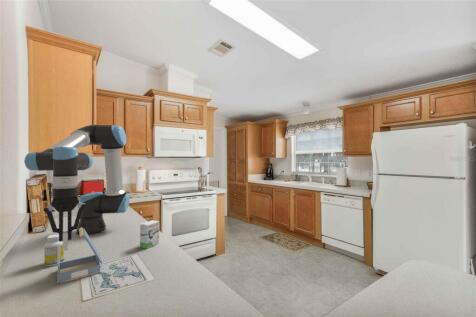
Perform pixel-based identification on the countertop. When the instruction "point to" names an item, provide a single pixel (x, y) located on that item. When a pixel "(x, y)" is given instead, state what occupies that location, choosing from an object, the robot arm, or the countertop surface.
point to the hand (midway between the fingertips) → (65, 249)
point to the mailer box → (77, 268)
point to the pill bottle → (53, 250)
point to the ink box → (149, 234)
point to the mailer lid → (90, 243)
